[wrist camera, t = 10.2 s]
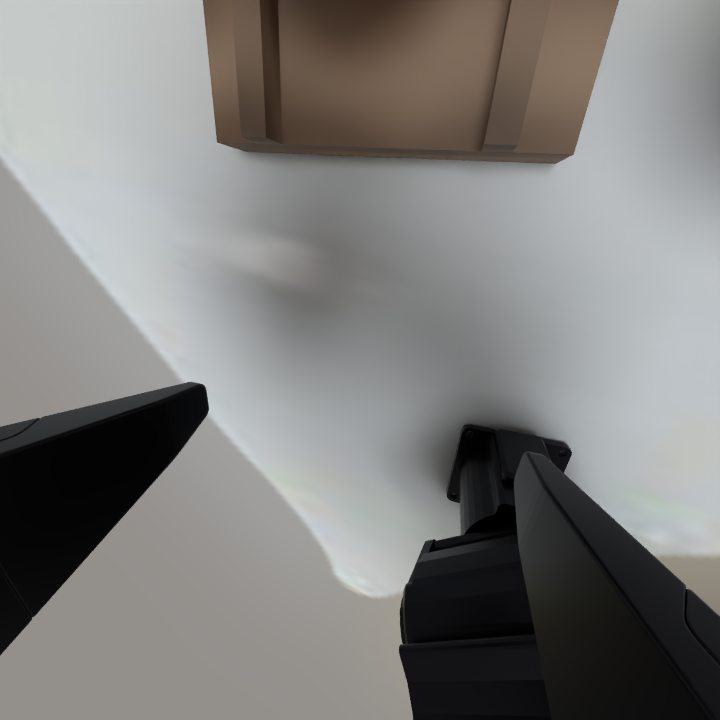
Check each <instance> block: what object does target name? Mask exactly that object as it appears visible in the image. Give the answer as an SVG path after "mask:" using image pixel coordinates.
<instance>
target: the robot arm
mask: <svg viewBox="0 0 720 720" xmlns="http://www.w3.org/2000/svg"><path fill="white" fill-rule="evenodd" d="M208 411H209V405H208V398H207V392H206V388H205V386H204V385H203V384H200V383H195V382H187V383H183V384H179V385H175V386H171V387H166V388H162V389H158V390H154V391H150V392H145V393H141V394H137V395H133V396H129V397H124V398H120V399H116V400H112V401H108V402H103V403H99V404H95V405H91V406H87V407H83V408H79V409H74V410H70V411H66V412H61V413H57V414H53V415H49V416H45V417H42V418H36V419H32V420H28V421H23V422H19V423H15V424H11V425H6V426H2V427H0V655H1V654H2V653H3V651H5V649H6V648H7V647H8V646H9V645H10V644H11V643H12V642H13V640H14V639H15V638H16V637H17V636H18V635H19V633H21V631H22V630H23V629H24V628H25V627H26V626H27V625H28V624H29V622H30V621H31V620H32V617H34V616H35V615H36V614H37V613H38V612H39V611H40V609H41V608H42V607H43V606H44V605H45V604H46V603H47V602H48V601H49V599H50V598H51V597H52V596H53V595H54V594H55V593H56V591H57V590H58V589H59V588H60V587H61V586H62V585H63V584H64V582H65V581H66V580H67V579H68V578H69V577H70V576H71V575H72V574H73V572H74V571H75V570H76V569H77V568H78V567H79V565H80V564H81V563H82V562H83V561H84V560H85V559H86V558H87V557H88V556H89V554H90V553H91V552H92V551H93V550H94V549H95V548H96V547H97V545H98V544H99V543H100V542H101V541H102V540H103V539H104V538H105V536H106V535H107V534H108V533H109V532H110V531H111V530H112V529H113V527H114V526H115V525H116V524H117V523H118V521H120V519H121V518H122V517H123V516H124V515H125V514H126V513H127V512H128V510H129V509H130V508H131V507H132V506H133V505H134V504H135V503H136V502H137V500H138V499H139V498H140V497H141V496H142V495H143V494H144V493H145V491H146V490H147V489H148V488H149V487H150V486H151V485H152V483H153V482H154V481H155V480H156V479H157V478H158V477H159V476H160V475H161V473H162V472H163V471H164V470H165V469H166V468H167V467H168V466H169V464H170V463H171V462H172V461H173V460H174V459H175V457H176V456H177V455H178V454H179V452H180V451H181V449H182V448H183V447H184V445H185V444H186V443H187V442H188V440H189V439H190V437H191V436H192V435H193V434H194V432H195V431H196V429H197V428H198V427H199V425H200V424H201V423H202V421H203V420H204V419H205V417H206V416H207V414H208ZM468 431H471V432H473V433H472V434H467V432H468ZM561 450H565V451H564V452H562V453H559V451H561ZM571 455H572V452H571V450H570V448H569V446H568V445H567V444H565V443H561V442H556V441H551V440H546V439H541V438H540V437H536V436H531V435H526V434H521V433H516V432H511V431H506V430H501V429H500V430H495V429H490V428H485V427H480V426H475V425H465V426H464V427H463V428H462V431H461V435H460V439H459V443H458V447H457V451H456V455H455V459H454V463H453V467H452V471H451V475H450V479H449V484H448V488H447V498H448V499H449V500H451V501H454V502H458V503H460V521H461V535H460V536H456V537H451V538H447V539H442V540H438V541H436V540H435V539H433V540H429V541H425V543H424V546H423V548H422V550H421V553H420V555H419V558H418V560H417V563H416V565H415V567H414V570H413V572H412V575H411V577H410V579H409V582H408V583H407V584H406V586H405V589H404V592H403V598H402V602H401V608H400V628H401V638H402V643H403V644H401V645H400V646H399V653H400V658H401V661H402V665H403V668H404V672H405V675H406V679H407V683H408V689H409V694H410V700H411V706H412V711H413V720H720V616H719V615H718V614H717V613H716V612H715V611H713V610H712V609H711V608H710V607H709V606H708V605H707V604H706V603H705V602H704V601H703V600H701V599H700V598H699V597H698V596H697V595H696V594H695V593H694V592H693V591H692V590H690V589H686V585H685V584H684V583H683V582H681V580H679V579H678V578H677V577H676V576H675V575H674V574H673V573H672V572H671V571H670V570H668V568H666V567H665V566H664V565H663V564H662V563H661V562H660V561H659V560H658V559H657V558H656V557H654V556H653V555H652V554H651V553H650V552H649V551H648V550H647V549H646V548H645V547H644V546H642V545H641V544H640V543H639V542H638V541H637V540H636V539H635V538H634V537H633V536H632V535H630V534H629V533H628V532H627V531H626V530H625V529H624V528H623V527H622V526H621V525H620V524H618V523H617V522H616V521H615V520H614V519H613V518H612V517H611V516H610V515H609V514H608V513H606V512H605V511H604V510H603V509H602V508H601V507H600V506H599V505H598V504H597V503H596V502H594V501H593V500H592V499H591V498H590V497H589V496H588V495H587V494H586V493H585V492H584V491H582V490H581V489H580V488H579V487H578V486H577V485H576V484H575V483H574V482H573V481H572V480H570V479H569V478H568V477H567V476H566V475H565V474H564V471H565V469H566V466H567V464H568V462H569V460H570V457H571ZM452 493H454V494H456V495H453V494H452Z"/></svg>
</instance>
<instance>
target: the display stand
mask: <svg viewBox="0 0 720 720" xmlns="http://www.w3.org/2000/svg"><path fill="white" fill-rule="evenodd" d="M618 1H619V0H203V5H204V15H205V25H206V35H207V45H208V55H209V65H210V75H211V85H212V95H213V105H214V115H215V125H216V135H217V142H218V143H221V144H224V145H227V146H230V147H234V148H237V149H240V150H243V151H249V152H274V153H300V154H325V155H350V156H375V157H401V158H426V159H451V160H477V161H502V162H527V163H552V164H556V163H558V162H560V161H562V160H564V159H565V158H567V157H569V156H571V155H573V154H574V151H575V147H576V144H577V141H578V137H579V134H580V130H581V127H582V124H583V120H584V117H585V113H586V110H587V107H588V103H589V100H590V96H591V93H592V90H593V86H594V83H595V79H596V76H597V73H598V69H599V66H600V62H601V59H602V56H603V52H604V49H605V45H606V42H607V39H608V35H609V32H610V28H611V25H612V22H613V18H614V15H615V12H616V8H617V5H618Z"/></svg>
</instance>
